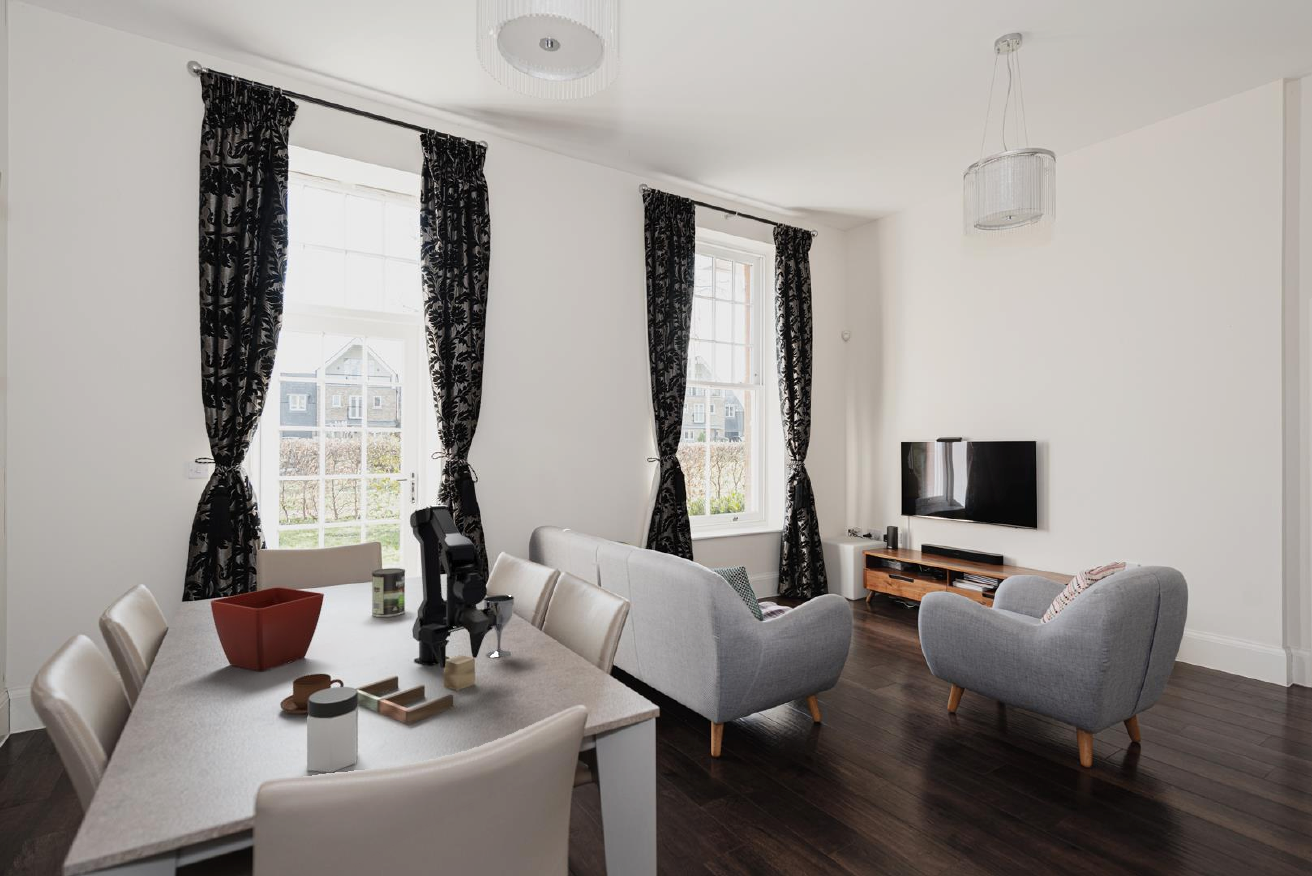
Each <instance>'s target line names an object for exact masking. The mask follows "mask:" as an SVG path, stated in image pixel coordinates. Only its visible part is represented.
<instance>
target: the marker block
mask: <svg viewBox="0 0 1312 876" xmlns="http://www.w3.org/2000/svg"><path fill="white" fill-rule="evenodd" d="M475 669H476V658H474V657H470V656H467V655H463V654H459V655H456V656H453V657H449V659H446V663H445V668H443V686H444V687H447V688H450V689H453V690H456V691H459V690H462V689H465V688H467V687H470V686H473V685H475V684H476V670H475Z"/></svg>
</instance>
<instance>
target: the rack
mask: <svg viewBox="0 0 1312 876" xmlns="http://www.w3.org/2000/svg"><path fill="white" fill-rule="evenodd" d="M397 688H399V676H398V675H395V676H391V677H387V678H385V679H381V680H378V681H376V682H373V683H368V684H366V685H362V686H360V687H357V688H355V689H356V690H357V691H358V706H359V705H360V706H362V707H365V708H366V709H370V710H372V711H374V712H377V713H379V714H382V715H384V716H386V717H389V718H392V719H395V720H397V721H399V722H402V723H404V724H407V725H411V724H413V723H416V722H418V721H421V720H424V719H426V718H429V717H432V716H433V715H436V714H438V713H441V712H444V711H446V710H447V711H448V710H449V709H452V708H454V695H453V694H447V695H446V696H442V697H440V698H437V699H434V700H432V701H429V702H428V701H427V702H425V703H423V704H420V705H418V706H415V707H412V708H408V707H405V705H407V704H408V703H412V702H414V701H417V700H420V699H423V698H425V696H426V693H425V692H426V686H425V684H421V685H418V686H415V687H412V688H409V689H406V690H405V689H404V690H403V691H399V692H397V693H394V694H391V695H388V696H385V697H382V698H381V697H379V696H377V695H380V694H383V693H386V692H389V691H392V690H395V689H397ZM403 705H404V706H403Z"/></svg>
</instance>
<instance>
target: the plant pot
mask: <svg viewBox="0 0 1312 876" xmlns="http://www.w3.org/2000/svg"><path fill="white" fill-rule="evenodd" d="M324 596H325V594H324V593H323V592H322V593H320V592H315V591H309V590H307V591H306V590H301V589H295V588H293V589H292V588H288V587H281V586H278V587H271V588H265V589H261V590H256V591H252V592H251V591H250V592H247V593H242V594H236V595H231V596H227V597H222V598H221V597H220V598H216V599H213V600H211V601H210V606H211V613H212V618H213V622H214V626H215V629H216V633H217V636H218V640H219V643H220V644H221V647H222V649H223V652H224V655H225V656H226V659H227V661H228V663H229V665H231V666H236V667H240V668H244V669H248V670H250V671H251V670H252V671H257V672H263V671H268V670H271V669H275V668H276V667H281V666H283V665H287V664H289V663H293V662H296V661H298V660H301V659H305V657H306V655H307V653H308V651H309V648H310V646H311V644H312V641H313V638H314V635H315V633H316V629H317V627H318V623H319V619H320V615H321V612H322V607H323V603H324V602H323V601H324Z"/></svg>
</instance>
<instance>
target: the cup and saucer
mask: <svg viewBox="0 0 1312 876" xmlns="http://www.w3.org/2000/svg"><path fill="white" fill-rule="evenodd" d="M335 683H339V684H340V686H339V687H345V684H344V682H343V680H341V679H339V678H337V679H332V677H331V675H330V674H327V673H311V674H307V675H303V676H300V677H297V678H295V679H294V680H293V681H292V695H289V696H287V697H286V698H284V699H282V701H281V702H280V708H281V710H283V711H284V712H285V713H289V714H291V715H292V714H294V715H308V708H307V707H308V706H307V705H308V704H307V703H308V698H309V696H311V695H312V694H314V693H315V692H318V691H321V690H324V689H328V688H332V687H331V686H332V685H333V684H335Z"/></svg>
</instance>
